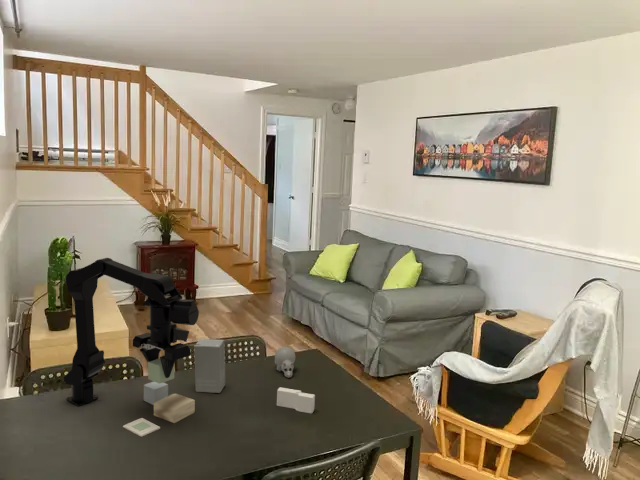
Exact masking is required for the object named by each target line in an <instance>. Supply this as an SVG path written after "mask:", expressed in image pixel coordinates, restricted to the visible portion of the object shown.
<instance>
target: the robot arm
mask: <svg viewBox="0 0 640 480" xmlns="http://www.w3.org/2000/svg"><path fill="white" fill-rule="evenodd" d="M104 276H107V277H109V278H112V279H115V280H117V281H120V282H122V283H125V284H127V285H130V286H132V287H135V288H137V289H138V290H139V291H140V292H141V294H143V295H144V296H145V297H147V298H146V300H145V301H143V302H142V303H141V305H142V306H144V307H145V306H146V307H147V306H148V307H149V324H148V325H146V329H147V330H148V331H149V332H145V333H142V334H139V335H135V336H134V338H133V339H132V347H134V348H137V349H139V351H140V352H141V353H142V355H143V357H144V359H145V360H146V362H147V363H148V362H150V361H153V360H156V359H159V358H160V361H161V364H162V368H163V371H164V375H165V377H166V378H169V377H170V374H171V371H172V368H173V366H174V367H175V363H176V361H177V360H180V359H183V358H186V357H190V356H191V355H192V354H191V346H189V345H187V344H184V343H187V341H188V338H189V334H190V331H189V330H187V329H184V328H179V327H178V326H177V324H178V325H186V326H194V325H197V322H198V320H199V313H200V310H199V308H198V306H197V304H195V303H196V301H195V299H183V296H182V294H181V293H180V292H179V290H178V289H177V286H175V283H174V281H173V278H172V277H171V276H169V275H167V274H166V275H165V274H162V273H161V274H160V273H149V272H144V271H142V270H139V269H136V268H134V267H131V266H128V265H126V264H123V263H121V262H118V261H116V260H113V259H112V258H110V257H104V258H100V259H97V260H95V261H93V262H92V263H90V264H88V265H86V266H84V267H81V268H77V269H73V270H70V271H69V272H68V273H67V274H66V275H65V284H66V287H67V288H66V289H67V292H68V294H69V295H70V296H71V298H72V299H73V302H74V304H73V305H74V319H75V333H76V335H75V336H76V349H75V350H76V351H75V352H74V355H73V357H72V362H71V370H69V371H68V373H66V374H65V375H64V377H63V380H64V383H65V384H66V385H69V386H71V396H69V397H66V400H67V401H69V402H70V403H72V404H74V405H76V406H77V407H79V406H82V405H85V404H87V403H90V402H93V401H96V400H98V399H99V397H98V396H97V395H95V394H94V378H95V377H98V376H99V374H100V372H101V370H102V369H104V368H103V367H104V364H105V363H106V360H105V357H104V356H105V351H104V350H103V349H101V350H100V349H99V348H98V347H97V345H96V332H95V331H96V330H95V329H96V328H95V316H94V300H93V298H94V295H95V293H96V291H97V289H98V281H99V279H100V278H101V277H104ZM167 296H168V297H167ZM178 341H180V342H178ZM181 341H183V342H184V343H181ZM177 342H178V343H177ZM161 351H164V355H161V356H160V352H161Z"/></svg>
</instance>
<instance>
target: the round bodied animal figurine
mask: <svg viewBox="0 0 640 480" xmlns="http://www.w3.org/2000/svg"><path fill="white" fill-rule="evenodd" d="M295 361H296V353H295V351H294V349H292V348H291V347H290V346H289V347H288V346H282V347H279V348H278V349H277V350H276V351H275V353H274V364H275V365H276V371H278V372H280V373H281V372H283V373H284V374H283V375H284V377H286V378H287V379H289V378H292V376H293V371H294V368H295V367H294V363H295Z"/></svg>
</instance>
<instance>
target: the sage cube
mask: <svg viewBox="0 0 640 480" xmlns="http://www.w3.org/2000/svg"><path fill="white" fill-rule="evenodd" d="M147 368H148V369H147V370H148V371H147V375H148V376H147V377H148V380H150V381H151V382H153V381H154V382H157V383H159V384H160V383H163V382H164V383H166V382H168V381H172V380H174V379H175V365H174V366H173V368H172V371H171V374H170V377H169V378H166V377H165V375H164V371H163V368H162V364H161V361H160V357H159V359H156V360H153V361H150V362H147Z"/></svg>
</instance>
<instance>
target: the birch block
mask: <svg viewBox="0 0 640 480" xmlns="http://www.w3.org/2000/svg"><path fill="white" fill-rule="evenodd" d="M195 402H196V400H195V399H193V398H190V397H187V396H185V395H181V394H178V393H176V392H175V393H172V394H168V396H167V397H165V398H163V399H161V400H159V401H157V402H155V403H154V405H153V416H154V417H157V418H159V419H162V420H165V421H168V422H170V423H173V424H176V423H177V422H179V421H181V420H183V419H185V418H187V417H189V416H191V415H192V414H194V413H195V411H196V408H195V407H196V406H195V405H196V403H195Z"/></svg>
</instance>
